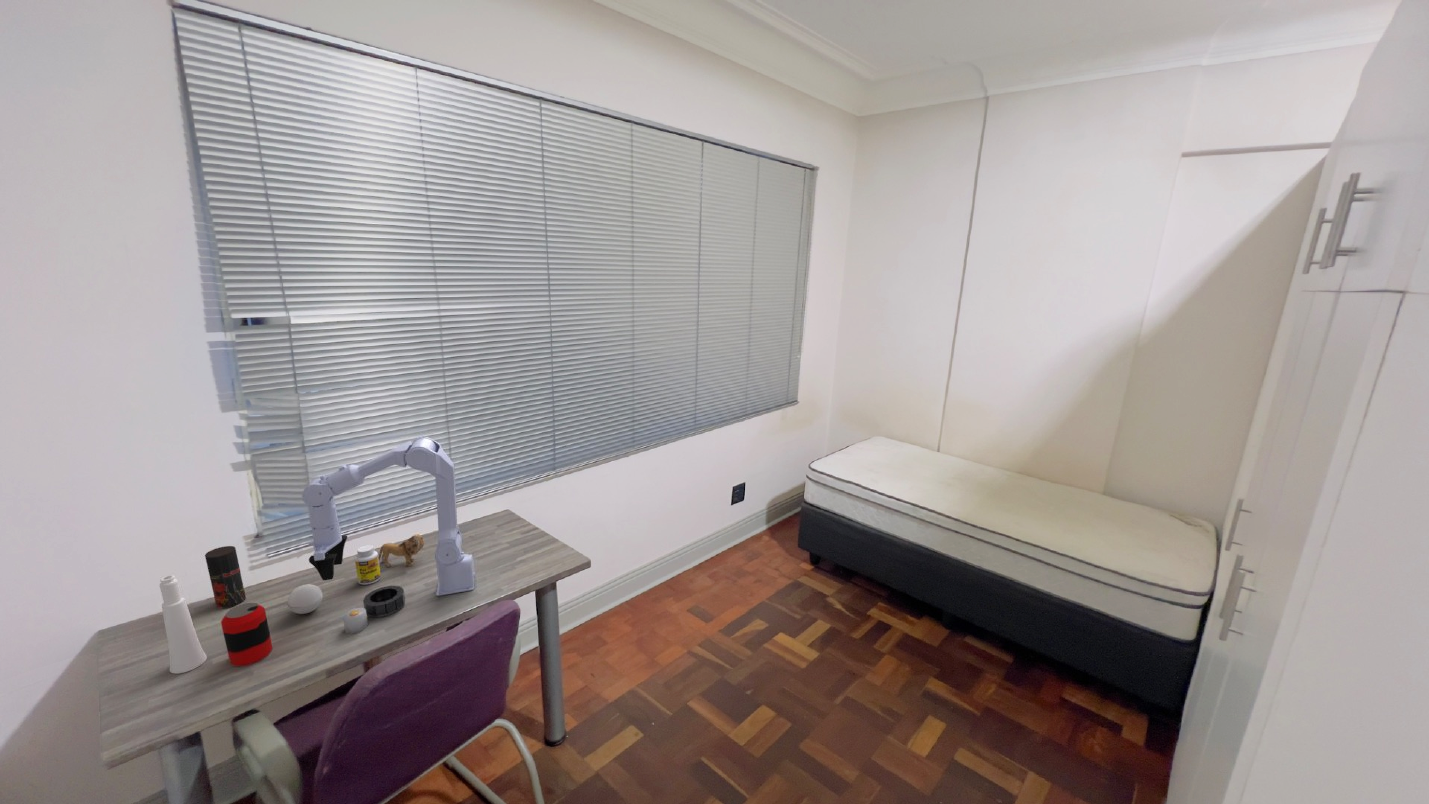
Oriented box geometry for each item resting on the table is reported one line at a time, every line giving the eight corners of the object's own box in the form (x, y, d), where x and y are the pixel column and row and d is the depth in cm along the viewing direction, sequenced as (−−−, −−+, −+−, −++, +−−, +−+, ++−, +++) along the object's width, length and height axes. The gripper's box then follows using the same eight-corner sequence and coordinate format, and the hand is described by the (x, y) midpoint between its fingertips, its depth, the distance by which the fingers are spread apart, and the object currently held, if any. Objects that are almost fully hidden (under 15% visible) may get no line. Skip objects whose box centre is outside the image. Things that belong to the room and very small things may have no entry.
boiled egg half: (370, 619, 137) (367, 605, 136) (365, 631, 133) (363, 616, 132) (348, 623, 136) (345, 609, 135) (342, 635, 131) (340, 620, 130)
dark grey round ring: (407, 594, 148) (406, 583, 147) (401, 613, 140) (399, 601, 139) (370, 600, 145) (368, 589, 144) (361, 620, 137) (359, 608, 136)
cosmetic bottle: (198, 670, 119) (176, 582, 114) (163, 676, 117) (140, 587, 112) (212, 652, 125) (192, 568, 119) (179, 658, 123) (157, 572, 117)
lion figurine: (428, 556, 168) (425, 530, 166) (423, 565, 163) (420, 538, 161) (376, 561, 165) (373, 534, 163) (370, 570, 160) (366, 543, 158)
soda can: (265, 662, 122) (255, 616, 119) (223, 670, 119) (212, 623, 116) (278, 641, 129) (269, 597, 126) (239, 648, 126) (229, 603, 123)
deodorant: (250, 599, 145) (240, 549, 141) (223, 611, 140) (212, 559, 136) (238, 593, 147) (228, 544, 144) (211, 605, 142) (200, 554, 138)
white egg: (321, 599, 145) (317, 575, 144) (327, 611, 140) (322, 587, 138) (274, 615, 138) (270, 589, 137) (278, 628, 133) (273, 602, 132)
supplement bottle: (358, 587, 151) (353, 555, 148) (358, 578, 155) (353, 546, 153) (381, 581, 154) (377, 549, 151) (380, 573, 158) (376, 541, 156)
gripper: (316, 514, 143) (323, 560, 146) (295, 539, 129) (304, 589, 133) (346, 511, 145) (353, 556, 148) (329, 535, 132) (338, 584, 135)
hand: (332, 571), depth 141 cm, fingers open, 7 cm apart
